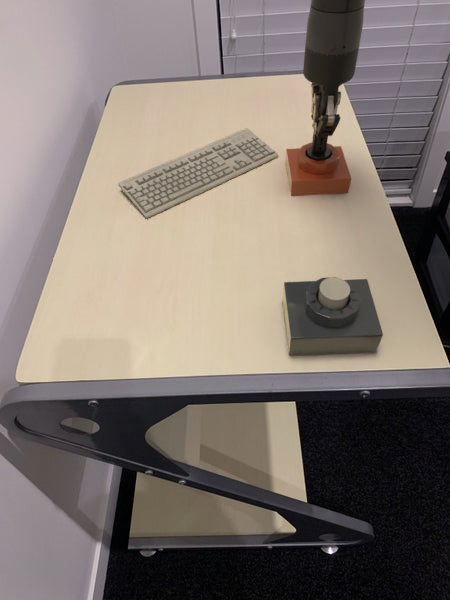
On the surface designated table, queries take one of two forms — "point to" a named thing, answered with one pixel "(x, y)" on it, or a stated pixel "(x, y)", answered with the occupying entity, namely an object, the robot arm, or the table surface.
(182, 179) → the keyboard
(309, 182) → the button base
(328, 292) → the grey cylindrical knob
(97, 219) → the table surface
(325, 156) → the black button cap
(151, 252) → the table surface
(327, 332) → the push button box
